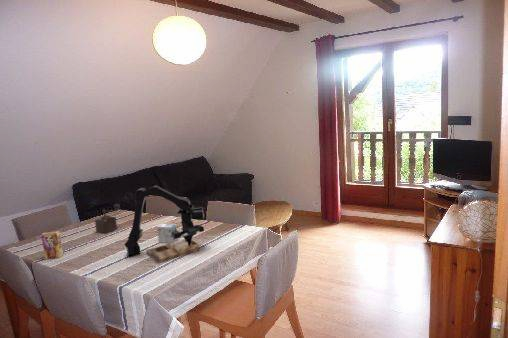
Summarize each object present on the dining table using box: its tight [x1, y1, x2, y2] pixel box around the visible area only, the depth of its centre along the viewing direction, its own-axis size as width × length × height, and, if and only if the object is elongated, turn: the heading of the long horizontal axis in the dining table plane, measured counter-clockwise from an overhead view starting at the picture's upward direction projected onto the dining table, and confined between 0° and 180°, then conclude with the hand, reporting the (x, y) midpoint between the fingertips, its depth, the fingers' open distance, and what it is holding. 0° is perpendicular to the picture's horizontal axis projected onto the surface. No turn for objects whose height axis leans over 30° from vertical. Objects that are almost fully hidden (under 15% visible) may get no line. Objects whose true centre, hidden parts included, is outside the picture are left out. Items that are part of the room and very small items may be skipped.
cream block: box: [174, 239, 188, 252], centre depth 208 cm, size 6×6×4 cm
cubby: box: [173, 239, 199, 253], centre depth 210 cm, size 12×10×2 cm
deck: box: [145, 238, 200, 264], centre depth 209 cm, size 25×19×4 cm
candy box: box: [40, 231, 64, 260], centre depth 213 cm, size 9×4×15 cm, turn 96°
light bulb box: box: [156, 223, 179, 244], centre depth 227 cm, size 11×7×11 cm, turn 74°
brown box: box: [94, 203, 121, 235], centre depth 258 cm, size 16×11×18 cm
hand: (189, 245), depth 211 cm, fingers closed
